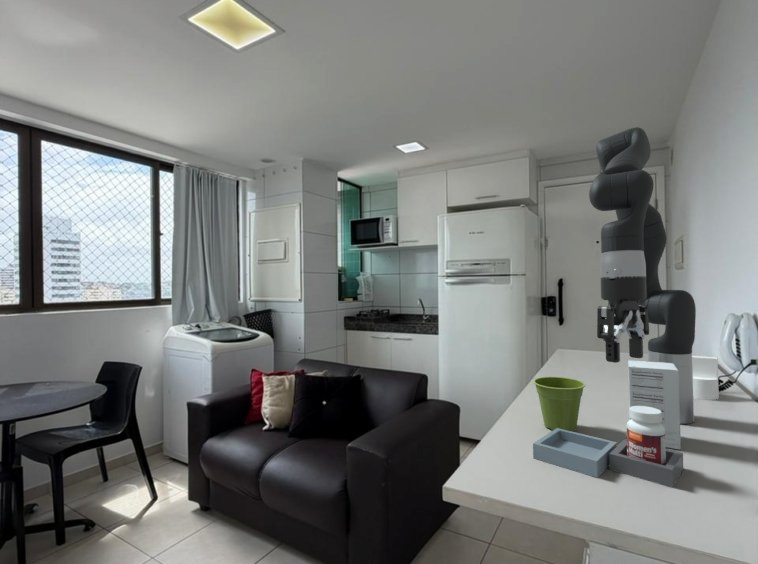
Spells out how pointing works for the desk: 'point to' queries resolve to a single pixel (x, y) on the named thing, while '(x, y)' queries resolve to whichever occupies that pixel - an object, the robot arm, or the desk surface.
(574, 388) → the plant pot
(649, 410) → the pill bottle
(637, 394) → the supplement box
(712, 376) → the cylinder with rectangular tab
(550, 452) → the parts tray
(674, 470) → the gray hollow square frame
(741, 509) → the desk surface
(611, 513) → the desk surface
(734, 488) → the desk surface
